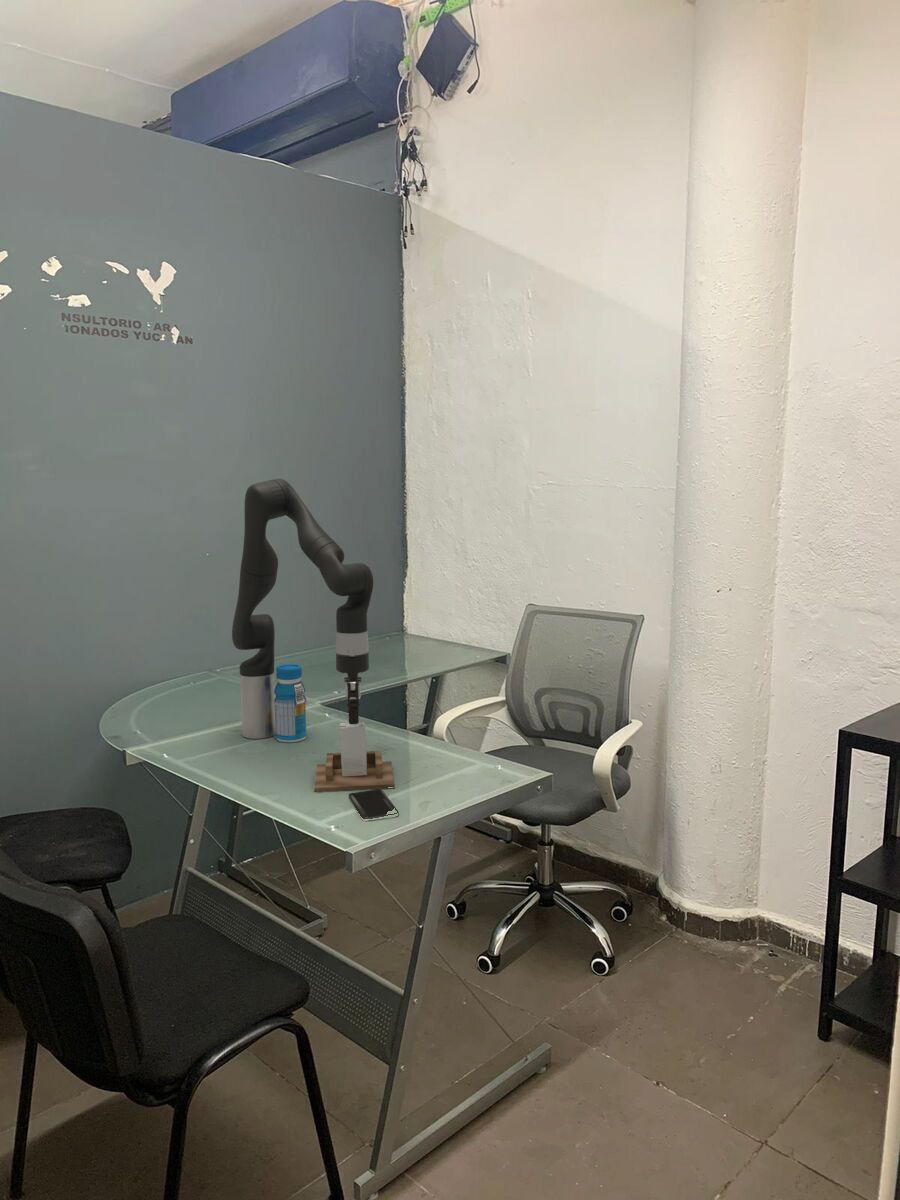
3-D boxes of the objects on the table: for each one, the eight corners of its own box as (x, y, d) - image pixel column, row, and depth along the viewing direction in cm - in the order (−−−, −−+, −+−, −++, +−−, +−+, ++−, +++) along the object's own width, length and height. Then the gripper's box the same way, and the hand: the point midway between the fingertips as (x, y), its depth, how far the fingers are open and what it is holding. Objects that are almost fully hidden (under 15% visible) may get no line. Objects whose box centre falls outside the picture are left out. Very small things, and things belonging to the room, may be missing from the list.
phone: (363, 818, 178) (347, 793, 192) (363, 823, 178) (347, 798, 192) (400, 813, 180) (382, 788, 194) (400, 818, 180) (382, 793, 194)
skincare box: (367, 770, 206) (366, 720, 204) (367, 776, 201) (366, 726, 200) (341, 771, 205) (339, 721, 203) (340, 777, 201) (339, 727, 199)
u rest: (317, 768, 210) (316, 750, 210) (391, 765, 212) (391, 747, 212) (314, 792, 195) (313, 772, 194) (394, 788, 197) (394, 769, 196)
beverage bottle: (276, 744, 229) (273, 670, 226) (274, 735, 237) (271, 664, 234) (308, 741, 231) (306, 668, 228) (305, 732, 239) (303, 662, 236)
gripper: (336, 644, 206) (337, 710, 208) (335, 657, 192) (336, 728, 194) (368, 643, 206) (369, 709, 209) (369, 656, 192) (370, 727, 195)
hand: (353, 718), depth 202 cm, fingers open, 8 cm apart
